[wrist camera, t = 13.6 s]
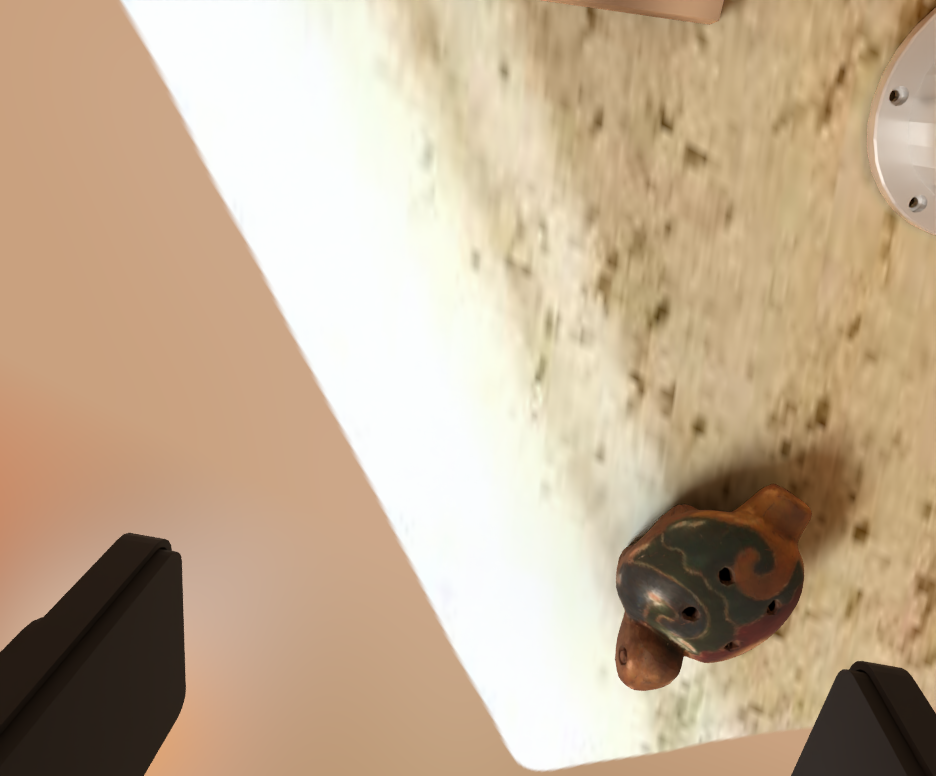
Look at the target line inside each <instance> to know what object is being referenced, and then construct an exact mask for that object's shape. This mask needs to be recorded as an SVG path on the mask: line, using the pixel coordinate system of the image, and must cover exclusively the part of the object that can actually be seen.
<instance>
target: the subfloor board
mask: <svg viewBox="0 0 936 776" xmlns="http://www.w3.org/2000/svg"><path fill="white" fill-rule="evenodd" d="M542 1H549V2H556V3H563V4H570V5H577V6H584V7H591V8H598V9H605V10H612V11H619V12H626V13H633V14H640V15H647V16H654V17H661V18H668V19H674V20H681V21H688V22H695V23H702V24H709V25H710V24H712V23H714V22H717V21H719V18H720V14H721V10H722V6H723V2H724V0H542Z"/></svg>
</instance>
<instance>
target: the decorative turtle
mask: <svg viewBox="0 0 936 776" xmlns="http://www.w3.org/2000/svg"><path fill="white" fill-rule="evenodd" d="M811 515H812V513H811V510H810V508H809V507H808V506H807V505H806V504H805V503H804V502H803V501H802V500H800V499H799V498H797V497H796V496H794V495H792V494H791V493H790V492H789V491H788V490H786V489H784V488H782V487H780V486H778V485H776V484H770V485H768V486H766V487H764V488H762V489H760V490H759V491H758V492H756V493H755V494H754V495H753V496H752V497H751V498H750V499H749V500H747V501H746V502H745V503H744V504H743V505H741V506H740V507H739V508H737V509H736V510H734V511H732V512H725V511H716V510H697V509H696V508H694V507H693V506H690V505H687V504H683V505H676V506H674V507H673V508H672V509H670V510H669V511H668V512H667V513H666V514H664V515H662V516H661V517H660V518H659V520H658V521H657V522H656V523H655V524H654V525H653V526H652V528H651V529H650V530H649V531H648V532H647V533H646V534H645V535H644V536H643V537H642V538H641V539H640V540H639V541H638V542H636V543H635V544H631V545H630V546H629V547H626V548H625V549H624V550H623V551H622V554H621V555H620V557H619V561H618V566H617V573H616V588H617V592H618V595H619V598H620V600H621V602H622V605H623V607H624V609H625V613H624V617H623V620H622V623H621V626H620V630H619V633H618V638H617V644H616V655H615V661H616V667H617V672H618V676H619V678H620V679H621V681H622V682H623V683H624V684H625V685H626V686H628V687H630V688H631V689H634V690H640V691H646V690H653V689H658V688H661V687H664V686H666V685H668V684H670V683H671V682H672V681H673V680H674V679H675V678H676V677H677V676H678V674H679V672H680V669H681V666H682V661H683V657H684V656H686V657H689V658H692V659H695V660H697V661H700V662H704V663H713V662H719V661H724V660H728V659H731V658H733V657H736V656H739V655H741V654H743V653H745V652H747V651H749V650H751V649H753V648H754V647H756V646H758V645H759V644H761V643H762V642H764V641H765V640H767V639H768V638H769V637H770V636H771V635H772V634H774V633H775V632H776V631H777V630H778V629H779V628H780V627H781V626H782V625H783V623H784V622H785V621H786V620H787V619H788V617H789V616H790V615H791V613H792V611H793V610H794V608H795V607H796V605H797V603H798V601H799V598H800V595H801V593H802V588H803V582H804V566H803V561H802V558H801V555H800V553H799V551H798V540H799V538H800V536H801V534H802V532H803V531H804V529H805V527H806V526H807V524H808V522H809V521H810V519H811Z"/></svg>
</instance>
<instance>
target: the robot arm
mask: <svg viewBox="0 0 936 776" xmlns="http://www.w3.org/2000/svg"><path fill="white" fill-rule="evenodd" d="M892 91H894V92H895V98H894V99H893V100H892V101H890V100H889V97H890V93H891V92H892ZM867 153H868V158H869V163H870V168H871V173H872V175H873V177H874V180H875V182H876V184H877V187H878V189H879V191H880V193H881V194H882V196H883V197H884V198H885V200H886V201H887V202H888V204H889V205H890V206H891V208H892V209H893V210H894V211H895V212H896V213H897V214H899V215H900V216H901V217H902V218H904V219H905V220H906V221H907V222H908V223H910V224H912V225H914V226H916V227H918V228H920V229H922V230H924V231H926V232H928V233H930V234H933V235H936V8H935V9H934V10H933V11H931V12H930V13H929V14H928V15H927V16H926V17H925V18H924V19H923V20H922V21H920V22H919V23H918V24H917V25H916V26H915V27H914V29H913V30H912V31H911V32H910V34H909V35H908V36H907V37H906V39H905V40H904V41H903V42H902V43H901V45H900V46H899V47H898V48H897V50H896V52H895V53H894V55H893V57H892V58H891V60H890V62H889V64H888V65H887V67H886V69H885V70H884V72H883V74H882V76H881V79H880V81H879V84H878V87H877V89H876V92H875V94H874V97H873V100H872V104H871V109H870V114H869V119H868V124H867ZM912 198H914V203H913V204H912V205H911V206H909V202H910V201H911V199H912ZM185 690H186V683H185V652H184V619H183V588H182V560H181V555H180V554H179V553H178V552H175V551H172V549H171V544H170V543H169V541H168V540H166V539H161V538H155V537H149V536H144V535H139V534H133V533H127V534H124V535H122V536H121V537H120V538H119V539H118V540H117V541H116V542H115V543H114V544H113V545H112V546H111V547H110V548H109V549H108V550H107V551H106V552H105V553H104V554H103V555H102V557H101V558H100V559H99V560H98V561H97V562H96V563H95V564H94V565H93V566H92V567H91V568H90V569H89V570H88V571H87V572H86V573H85V574H84V576H82V577H81V579H80V580H79V581H78V582H77V583H76V584H75V585H74V586H73V587H72V588H71V589H70V590H69V591H68V592H67V593H66V594H65V595H64V596H63V597H62V598H61V599H60V600H59V601H58V602H57V604H56V605H55V606H54V607H53V608H52V609H51V610H50V611H49V612H48V613H47V614H46V615H45V616H44V617H42V618H39V619H37V620H34V621H33V622H31V623H30V624H29V625H28V626H26V627H25V628H24V629H23V630H22V631H21V632H20V633H19V634H18V635H17V636H16V637H15V638H14V639H13V640H12V641H11V642H10V643H9V644H8V645H7V646H6V647H5V648H4V649H3V650H2V651H1V652H0V776H144V774H145V773H146V771H147V769H148V767H149V766H150V764H151V762H152V761H153V759H154V757H155V755H156V754H157V752H158V750H159V748H160V747H161V745H162V744H163V742H164V740H165V739H166V737H167V735H168V733H169V732H170V730H171V728H172V726H173V725H174V723H175V721H176V720H177V718H178V716H179V714H180V711H181V709H182V706H183V703H184V699H185V692H186V691H185ZM791 776H936V713H935V712H934V710H933V709H932V707H931V705H930V704H929V702H928V701H927V699H926V698H925V696H924V695H923V693H922V691H921V690H920V688H919V687H918V685H917V684H916V682H915V680H914V679H913V677H912V676H911V675H910V674H909V673H908V672H907V671H906V670H904V669H902V668H898V667H893V666H887V665H881V664H875V663H870V662H864V661H857V662H855V663H854V664H853V665H852V666H851V668H850V669H849V670H841V671H840V672H839V673H838V675H837V676H836V679H835V681H834V683H833V685H832V687H831V689H830V692H829V694H828V696H827V698H826V700H825V703H824V705H823V707H822V709H821V711H820V714H819V716H818V718H817V720H816V722H815V725H814V727H813V729H812V731H811V733H810V735H809V738H808V740H807V742H806V744H805V746H804V749H803V751H802V753H801V755H800V757H799V760H798V762H797V764H796V766H795V768H794V771H793V773H792V775H791Z"/></svg>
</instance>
